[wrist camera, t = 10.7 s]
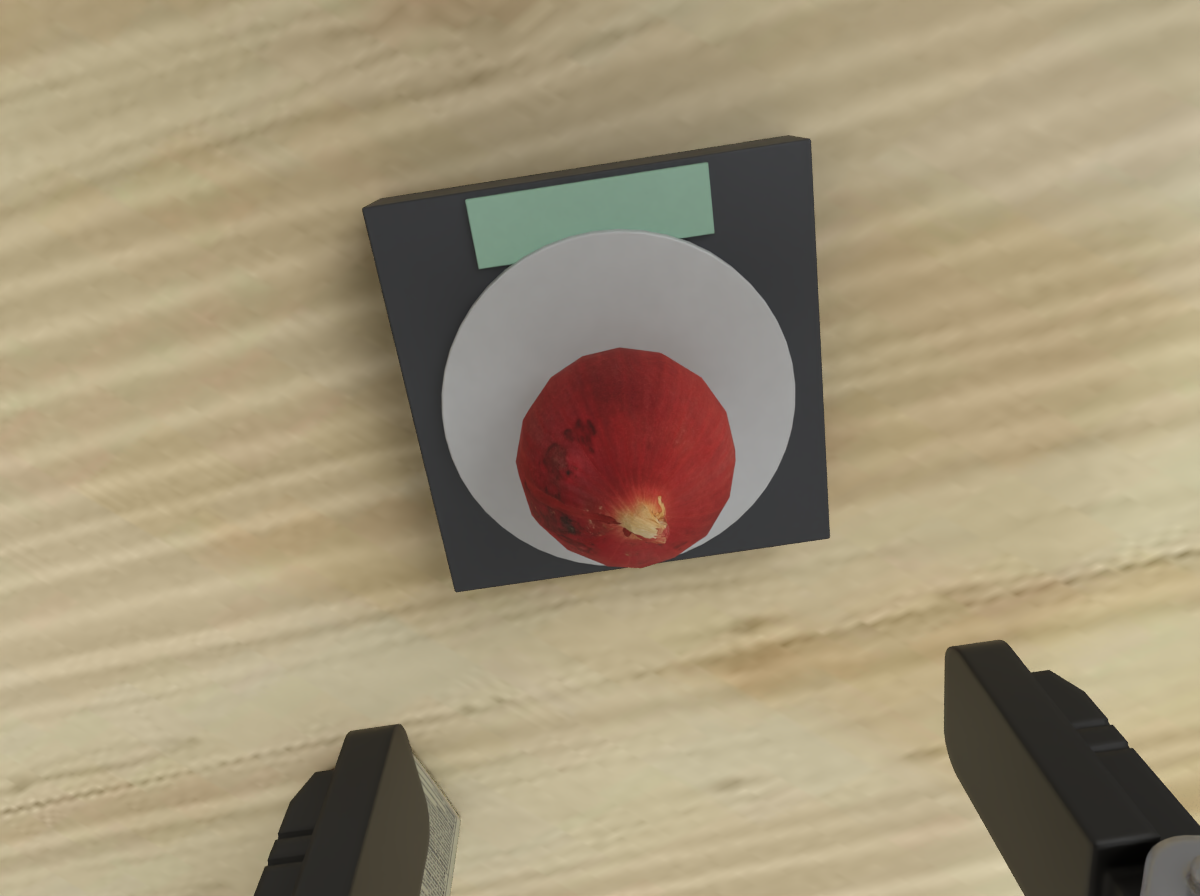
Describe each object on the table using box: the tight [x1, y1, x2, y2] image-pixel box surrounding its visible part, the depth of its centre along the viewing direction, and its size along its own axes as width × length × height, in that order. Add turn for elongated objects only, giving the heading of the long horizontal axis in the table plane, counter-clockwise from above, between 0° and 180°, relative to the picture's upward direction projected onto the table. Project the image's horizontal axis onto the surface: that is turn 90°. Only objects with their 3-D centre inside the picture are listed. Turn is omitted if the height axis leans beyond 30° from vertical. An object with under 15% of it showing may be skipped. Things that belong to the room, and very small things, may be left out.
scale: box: [362, 135, 830, 592], centre depth 28 cm, size 13×13×3 cm
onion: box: [516, 347, 736, 568], centre depth 23 cm, size 6×6×8 cm
